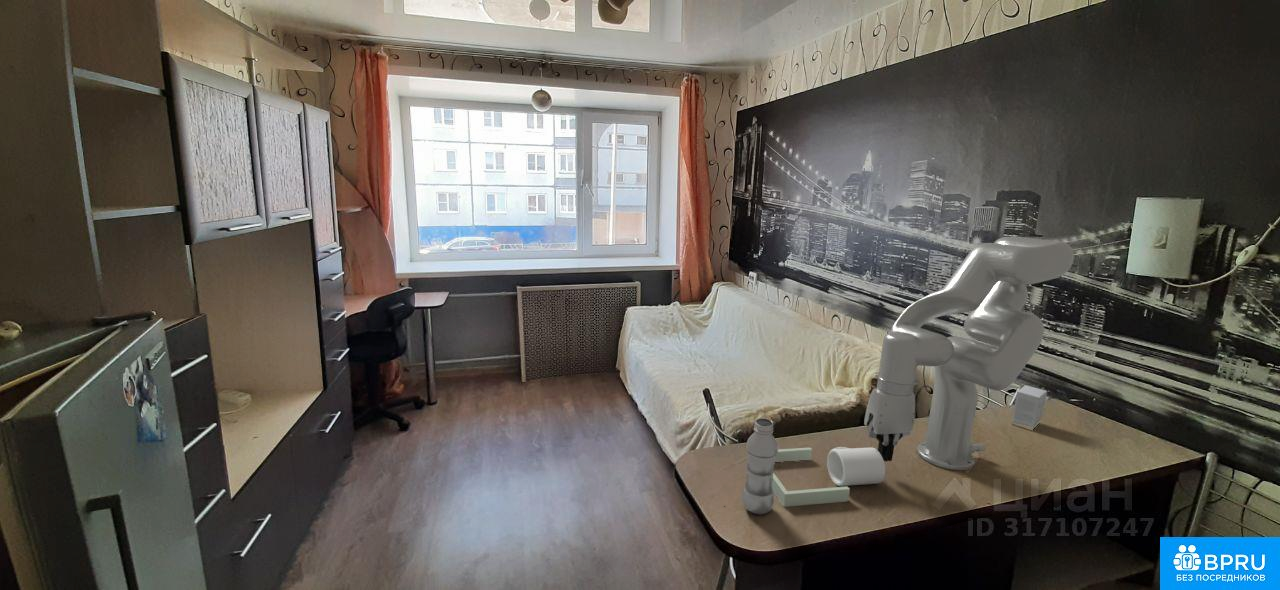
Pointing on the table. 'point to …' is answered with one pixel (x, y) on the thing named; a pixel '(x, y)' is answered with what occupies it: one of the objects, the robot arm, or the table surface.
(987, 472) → the table surface
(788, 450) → the green u-shaped bracket
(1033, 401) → the small box
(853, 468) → the mug
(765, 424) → the plastic bottle
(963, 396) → the robot arm
